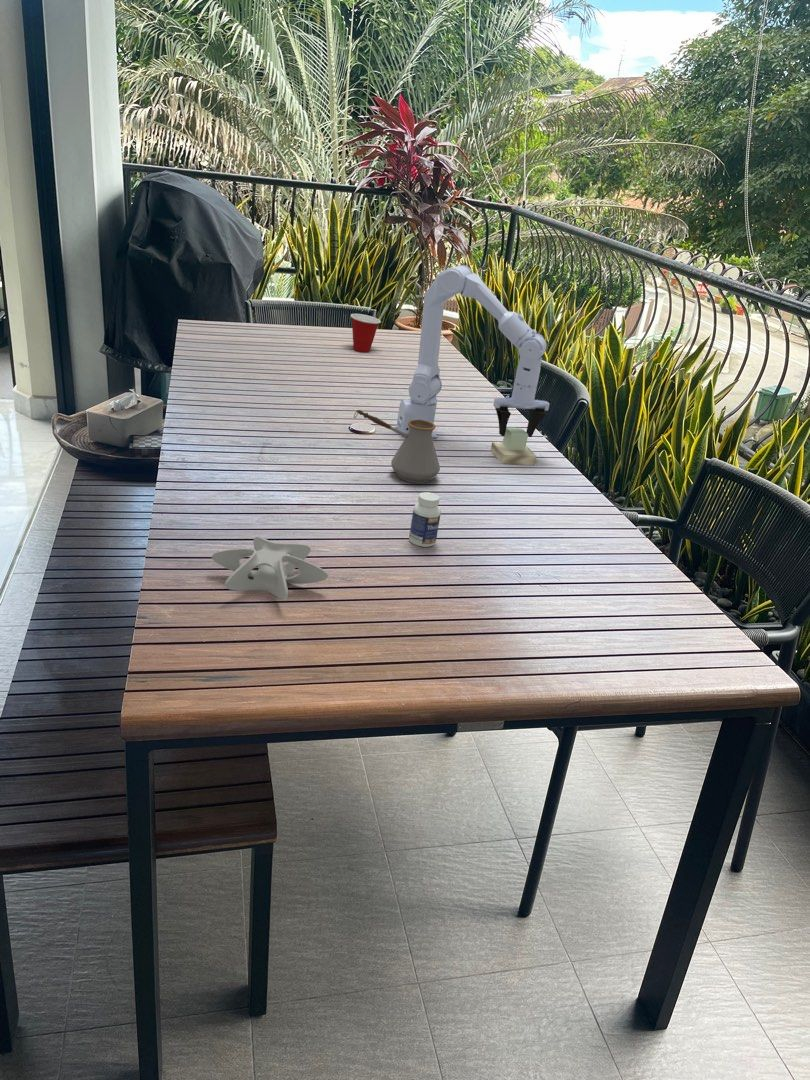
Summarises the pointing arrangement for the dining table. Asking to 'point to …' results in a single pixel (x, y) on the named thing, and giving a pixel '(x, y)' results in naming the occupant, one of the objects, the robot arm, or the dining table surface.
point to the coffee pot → (413, 451)
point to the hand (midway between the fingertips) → (515, 435)
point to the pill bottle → (425, 520)
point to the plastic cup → (363, 331)
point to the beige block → (513, 455)
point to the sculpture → (269, 567)
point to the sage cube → (515, 439)
